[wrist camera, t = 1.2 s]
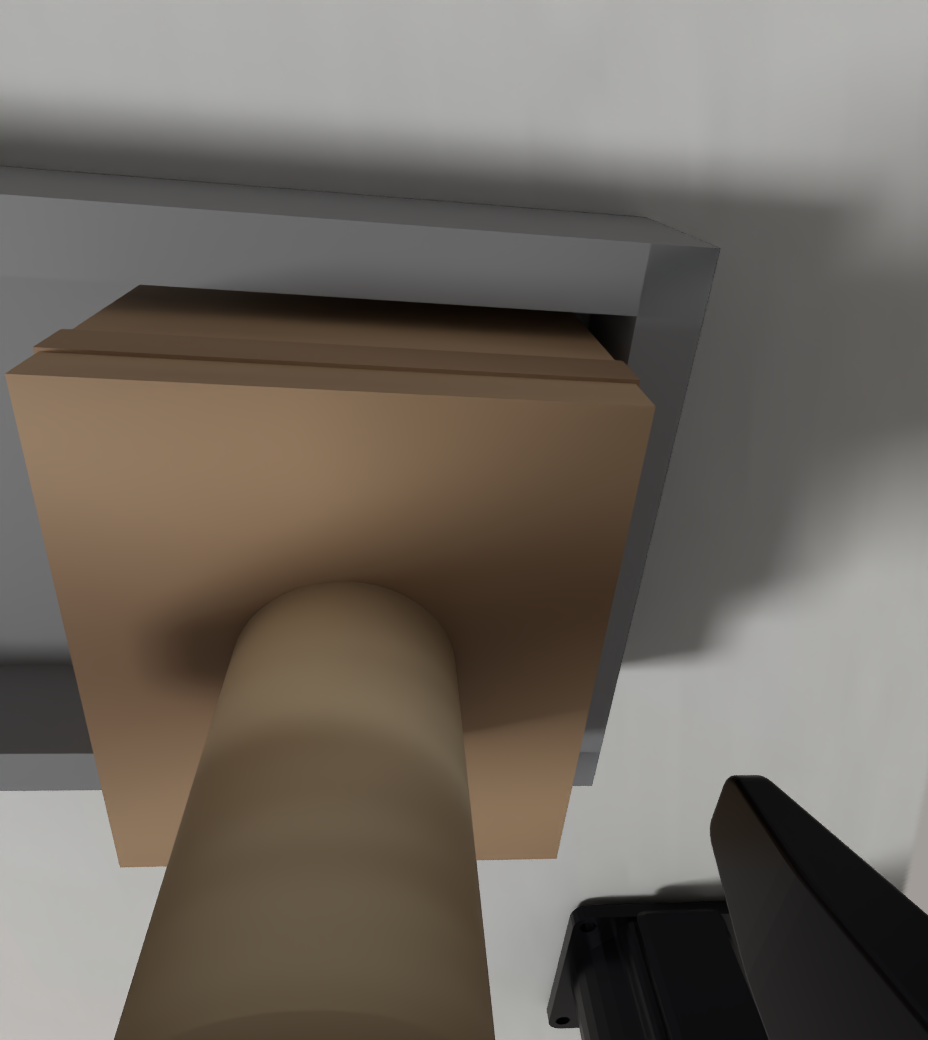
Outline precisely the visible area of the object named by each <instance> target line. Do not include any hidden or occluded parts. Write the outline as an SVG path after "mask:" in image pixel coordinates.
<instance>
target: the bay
mask: <svg viewBox="0 0 928 1040" xmlns="http://www.w3.org/2000/svg"><path fill="white" fill-rule="evenodd" d="M719 252H720V248H718V247H715V246H713V245H711V244H708V243H706V242H703V241H701V240H699V239H696V238H694V237H691V236H689V235H687V234H684V233H682V232H679V231H677V230H675V229H672V228H670V227H667V226H665V225H663V224H660V223H658V222H655V221H653V220H651V219H648V218H646V217H634V216H622V215H609V214H597V213H584V212H572V211H559V210H546V209H534V208H521V207H509V206H496V205H484V204H471V203H458V202H446V201H433V200H421V199H408V198H396V197H383V196H370V195H358V194H345V193H333V192H320V191H307V190H295V189H282V188H270V187H257V186H245V185H232V184H219V183H207V182H194V181H182V180H169V179H157V178H144V177H131V176H119V175H106V174H94V173H81V172H69V171H56V170H43V169H31V168H18V167H6V166H0V791H39V790H102V788H101V783H100V779H99V775H98V771H97V766H96V762H95V758H94V753H93V749H92V745H91V741H90V736H89V732H88V728H87V724H86V719H85V715H84V711H83V706H82V702H81V698H80V694H79V689H78V685H77V681H76V677H75V672H74V668H73V664H72V659H71V655H70V651H69V647H68V642H67V638H66V634H65V629H64V625H63V621H62V617H61V612H60V608H59V604H58V600H57V595H56V591H55V587H54V582H53V578H52V574H51V570H50V565H49V561H48V557H47V553H46V548H45V544H44V540H43V535H42V531H41V527H40V523H39V518H38V514H37V510H36V506H35V501H34V497H33V493H32V488H31V484H30V480H29V476H28V471H27V467H26V463H25V458H24V454H23V450H22V446H21V441H20V437H19V433H18V429H17V424H16V420H15V416H14V411H13V407H12V403H11V399H10V394H9V390H8V386H7V382H6V377H5V373H7V372H8V371H10V370H11V369H13V368H14V367H16V366H17V365H19V364H20V363H22V362H23V361H25V360H26V359H28V358H29V357H31V356H32V355H34V352H33V346H35V345H37V344H38V343H40V342H41V341H43V340H44V339H46V338H48V337H49V336H51V335H52V334H54V333H55V332H57V331H58V330H60V329H73V328H75V327H76V326H78V325H79V324H81V323H82V322H84V321H85V320H87V319H88V318H90V317H91V316H93V315H94V314H96V313H97V312H99V311H100V310H102V309H103V308H105V307H107V306H108V305H110V304H111V303H113V302H114V301H116V300H117V299H119V298H120V297H122V296H123V295H125V294H126V293H128V292H129V291H131V290H132V289H134V288H135V287H137V286H138V285H156V286H171V287H187V288H203V289H218V290H234V291H249V292H265V293H281V294H296V295H312V296H327V297H343V298H359V299H374V300H390V301H405V302H421V303H437V304H452V305H468V306H484V307H499V308H515V309H530V310H546V311H562V312H573V313H574V314H575V315H576V317H577V318H578V319H579V320H580V321H581V322H582V323H583V324H584V326H585V327H586V328H587V329H588V330H589V331H590V332H591V334H592V335H593V336H594V337H595V338H596V339H597V340H598V342H599V343H600V344H601V345H602V346H603V347H604V348H605V349H606V351H607V352H608V353H609V354H610V355H611V356H612V357H613V359H614V360H617V361H624V363H625V364H626V365H627V366H628V367H629V368H630V369H631V370H632V371H633V372H634V374H635V375H636V376H637V377H638V378H639V379H640V384H639V388H640V389H641V390H642V391H643V393H644V394H645V395H646V396H647V397H648V398H649V399H650V401H651V402H652V403H653V404H654V405H655V406H656V407H655V412H654V417H653V421H652V426H651V430H650V435H649V439H648V444H647V448H646V453H645V457H644V462H643V467H642V471H641V476H640V480H639V485H638V489H637V494H636V498H635V503H634V508H633V512H632V517H631V521H630V526H629V530H628V535H627V539H626V544H625V548H624V553H623V558H622V562H621V567H620V571H619V576H618V580H617V585H616V589H615V594H614V598H613V603H612V608H611V612H610V617H609V621H608V626H607V630H606V635H605V639H604V644H603V649H602V653H601V658H600V662H599V667H598V671H597V676H596V680H595V685H594V689H593V694H592V699H591V703H590V708H589V712H588V717H587V721H586V726H585V730H584V735H583V739H582V744H581V749H580V753H579V758H578V762H577V767H576V771H575V776H574V780H573V785H572V786H592V784H593V779H594V775H595V771H596V767H597V763H598V759H599V754H600V750H601V746H602V742H603V738H604V733H605V729H606V725H607V721H608V717H609V712H610V708H611V704H612V700H613V696H614V692H615V687H616V683H617V679H618V675H619V671H620V666H621V662H622V658H623V654H624V650H625V645H626V641H627V637H628V633H629V629H630V625H631V620H632V616H633V612H634V608H635V604H636V599H637V595H638V591H639V587H640V583H641V578H642V574H643V570H644V566H645V562H646V558H647V553H648V549H649V545H650V541H651V537H652V532H653V528H654V524H655V520H656V516H657V512H658V507H659V503H660V499H661V495H662V491H663V486H664V482H665V478H666V474H667V470H668V465H669V461H670V457H671V453H672V449H673V445H674V440H675V436H676V432H677V428H678V424H679V419H680V415H681V411H682V407H683V403H684V398H685V394H686V390H687V386H688V382H689V378H690V373H691V369H692V365H693V361H694V357H695V352H696V348H697V344H698V340H699V336H700V331H701V327H702V323H703V319H704V315H705V311H706V306H707V302H708V298H709V294H710V290H711V285H712V281H713V277H714V273H715V269H716V264H717V260H718V256H719Z"/></svg>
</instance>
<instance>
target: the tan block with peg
mask: <svg viewBox="0 0 928 1040" xmlns="http://www.w3.org/2000/svg"><path fill="white" fill-rule="evenodd" d="M33 352H34V355H32V356H31V357H29V358H28V359H26V360H25V361H23V362H22V363H20V364H19V365H17V366H16V367H14V368H13V369H11V370H10V371H8V372H7V373H5V377H6V382H7V386H8V390H9V394H10V399H11V403H12V407H13V411H14V416H15V420H16V424H17V429H18V433H19V437H20V441H21V446H22V450H23V454H24V458H25V463H26V467H27V471H28V476H29V480H30V484H31V488H32V493H33V497H34V501H35V506H36V510H37V514H38V518H39V523H40V527H41V531H42V535H43V540H44V544H45V548H46V553H47V557H48V561H49V565H50V570H51V574H52V578H53V582H54V587H55V591H56V595H57V600H58V604H59V608H60V612H61V617H62V621H63V625H64V629H65V634H66V638H67V642H68V647H69V651H70V655H71V659H72V664H73V668H74V672H75V677H76V681H77V685H78V689H79V694H80V698H81V702H82V706H83V711H84V715H85V719H86V724H87V728H88V732H89V736H90V741H91V745H92V749H93V753H94V758H95V762H96V766H97V771H98V775H99V779H100V783H101V788H102V792H103V796H104V801H105V805H106V809H107V813H108V818H109V822H110V826H111V830H112V835H113V839H114V843H115V848H116V852H117V856H118V860H119V865H120V867H156V866H167V868H166V872H165V875H164V878H163V881H162V885H161V888H160V891H159V895H158V898H157V901H156V904H155V908H154V911H153V914H152V917H151V921H150V924H149V927H148V930H147V934H146V937H145V940H144V943H143V947H142V950H141V953H140V956H139V960H138V963H137V966H136V969H135V973H134V976H133V979H132V983H131V986H130V989H129V992H128V996H127V999H126V1002H125V1005H124V1009H123V1012H122V1015H121V1018H120V1022H119V1025H118V1028H117V1031H116V1035H115V1038H114V1040H495V1034H494V1024H493V1015H492V1005H491V996H490V986H489V977H488V967H487V958H486V948H485V939H484V929H483V919H482V910H481V900H480V891H479V881H478V872H477V862H476V860H508V859H556V858H557V853H558V849H559V844H560V840H561V835H562V830H563V826H564V821H565V817H566V812H567V808H568V803H569V799H570V794H571V789H572V785H573V780H574V776H575V771H576V767H577V762H578V758H579V753H580V749H581V744H582V739H583V735H584V730H585V726H586V721H587V717H588V712H589V708H590V703H591V699H592V694H593V689H594V685H595V680H596V676H597V671H598V667H599V662H600V658H601V653H602V649H603V644H604V639H605V635H606V630H607V626H608V621H609V617H610V612H611V608H612V603H613V598H614V594H615V589H616V585H617V580H618V576H619V571H620V567H621V562H622V558H623V553H624V548H625V544H626V539H627V535H628V530H629V526H630V521H631V517H632V512H633V508H634V503H635V498H636V494H637V489H638V485H639V480H640V476H641V471H642V467H643V462H644V457H645V453H646V448H647V444H648V439H649V435H650V430H651V426H652V421H653V417H654V412H655V407H656V406H655V405H654V404H653V403H652V402H651V401H650V399H649V398H648V397H647V396H646V395H645V394H644V393H643V391H642V390H641V389H640V388H639V384H640V379H639V378H638V377H637V376H636V375H635V374H634V372H633V371H632V370H631V369H630V368H629V367H628V366H627V365H626V364H625V363H624V361H617V360H614V359H613V357H612V356H611V355H610V354H609V353H608V352H607V351H606V349H605V348H604V347H603V346H602V345H601V344H600V343H599V342H598V340H597V339H596V338H595V337H594V336H593V335H592V334H591V332H590V331H589V330H588V329H587V328H586V327H585V326H584V324H583V323H582V322H581V321H580V320H579V319H578V318H577V317H576V315H575V314H574V313H573V312H562V311H546V310H530V309H515V308H499V307H484V306H468V305H452V304H437V303H421V302H405V301H390V300H374V299H359V298H343V297H327V296H312V295H296V294H281V293H265V292H249V291H234V290H218V289H203V288H187V287H171V286H156V285H138V286H137V287H135V288H134V289H132V290H131V291H129V292H128V293H126V294H125V295H123V296H122V297H120V298H119V299H117V300H116V301H114V302H113V303H111V304H110V305H108V306H107V307H105V308H103V309H102V310H100V311H99V312H97V313H96V314H94V315H93V316H91V317H90V318H88V319H87V320H85V321H84V322H82V323H81V324H79V325H78V326H76V327H75V328H73V329H60V330H58V331H57V332H55V333H54V334H52V335H51V336H49V337H48V338H46V339H44V340H43V341H41V342H40V343H38V344H37V345H35V346H33Z"/></svg>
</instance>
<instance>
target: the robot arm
mask: <svg viewBox="0 0 928 1040" xmlns="http://www.w3.org/2000/svg"><path fill="white" fill-rule="evenodd" d="M710 837H711V843H712V847H713V851H714V855H715V859H716V863H717V867H718V871H719V875H720V878H721V882H722V886H723V890H724V894H725V898H726V902H701V903H664V904H628V905H591V906H582V907H579V908H577V909H575V910H574V911H573V912H572V913H571V915H570V918H569V922H568V926H567V930H566V934H565V938H564V942H563V946H562V950H561V954H560V958H559V962H558V967H557V971H556V975H555V979H554V983H553V987H552V991H551V995H550V999H549V1003H548V1007H547V1014H548V1020H549V1025H550V1026H551V1027H554V1028H580V1033H581V1038H582V1040H928V915H927V914H926V913H925V912H923V911H922V910H921V909H920V908H919V907H918V906H917V905H915V904H914V903H913V902H912V901H911V900H909V899H908V898H907V897H906V896H905V895H904V894H903V893H901V892H900V891H899V890H898V889H897V888H896V887H894V886H893V885H892V884H891V883H890V882H888V881H887V880H886V879H885V878H884V877H883V876H881V875H880V874H879V873H878V872H877V871H876V870H874V869H873V868H872V867H871V866H870V865H869V864H867V863H866V862H865V861H864V860H863V859H862V858H860V857H859V856H858V855H857V854H856V853H855V852H853V851H852V850H851V849H850V848H849V847H848V846H846V845H845V844H844V843H843V842H842V841H841V840H839V839H838V838H837V837H836V836H835V835H834V834H832V833H831V832H830V831H829V830H828V829H826V828H825V827H824V826H823V825H822V824H821V823H819V822H818V821H817V820H816V819H815V818H814V817H812V816H811V815H810V814H809V813H808V812H807V811H805V810H804V809H803V808H802V807H801V806H800V805H798V804H797V803H796V802H795V801H794V800H793V799H791V798H790V797H789V796H788V795H787V794H786V793H784V792H783V791H782V790H781V789H780V788H779V787H777V786H776V785H775V784H774V783H773V782H771V781H770V780H769V779H767V778H765V777H763V776H759V775H734V776H731V777H729V778H728V779H727V780H726V782H725V784H724V786H723V789H722V792H721V794H720V797H719V800H718V803H717V806H716V808H715V811H714V814H713V817H712V819H711V824H710Z"/></svg>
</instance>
